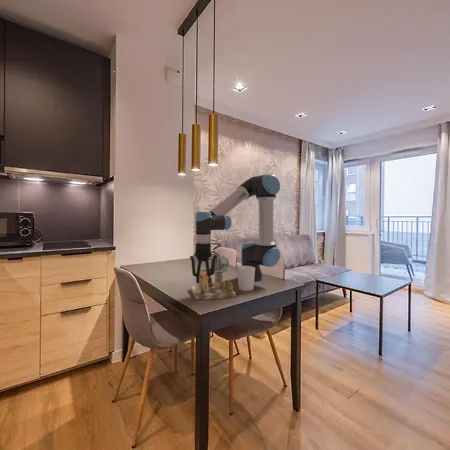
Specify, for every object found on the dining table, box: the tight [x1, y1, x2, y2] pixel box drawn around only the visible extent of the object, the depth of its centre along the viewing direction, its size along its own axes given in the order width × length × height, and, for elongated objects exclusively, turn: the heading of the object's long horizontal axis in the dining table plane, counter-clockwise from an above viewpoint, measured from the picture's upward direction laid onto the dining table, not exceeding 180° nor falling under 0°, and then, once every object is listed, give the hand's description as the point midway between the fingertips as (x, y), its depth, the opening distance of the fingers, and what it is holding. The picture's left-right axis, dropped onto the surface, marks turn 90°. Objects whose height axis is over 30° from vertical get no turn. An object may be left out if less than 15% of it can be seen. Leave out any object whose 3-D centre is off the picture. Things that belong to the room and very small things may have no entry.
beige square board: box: [190, 270, 237, 301], centre depth 134 cm, size 20×18×11 cm
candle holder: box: [237, 265, 255, 292], centre depth 141 cm, size 10×10×12 cm
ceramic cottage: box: [212, 249, 231, 273], centre depth 190 cm, size 16×16×15 cm
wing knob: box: [199, 270, 209, 293], centre depth 126 cm, size 3×10×10 cm, turn 17°
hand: (203, 289), depth 127 cm, fingers closed on wing knob, 3 cm apart
